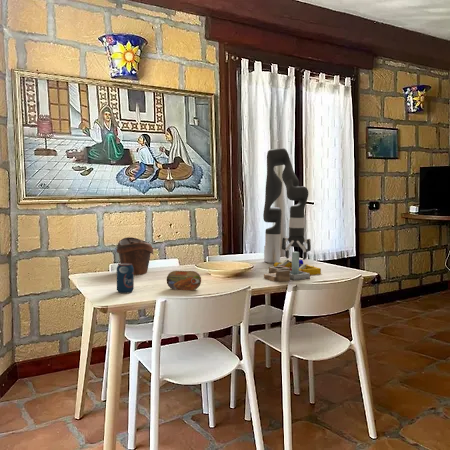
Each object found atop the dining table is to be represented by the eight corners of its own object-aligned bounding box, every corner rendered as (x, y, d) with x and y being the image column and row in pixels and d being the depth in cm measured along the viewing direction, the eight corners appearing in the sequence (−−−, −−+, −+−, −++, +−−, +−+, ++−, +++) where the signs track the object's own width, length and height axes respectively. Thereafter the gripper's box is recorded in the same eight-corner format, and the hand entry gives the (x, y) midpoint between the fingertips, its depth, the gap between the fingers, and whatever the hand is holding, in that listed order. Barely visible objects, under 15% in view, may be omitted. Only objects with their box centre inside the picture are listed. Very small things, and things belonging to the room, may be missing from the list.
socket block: (268, 272, 241) (268, 267, 240) (280, 271, 245) (280, 266, 244) (277, 275, 234) (278, 269, 234) (290, 273, 238) (290, 268, 238)
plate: (263, 279, 226) (263, 274, 225) (276, 277, 230) (276, 272, 230) (274, 282, 219) (274, 276, 219) (286, 280, 223) (286, 275, 223)
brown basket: (143, 276, 225) (144, 240, 224) (108, 274, 231) (108, 239, 230) (160, 271, 241) (160, 237, 240) (127, 269, 248) (127, 236, 247)
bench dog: (275, 280, 219) (276, 270, 218) (285, 279, 222) (285, 269, 222) (279, 282, 216) (279, 271, 216) (289, 280, 219) (289, 270, 219)
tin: (166, 289, 198) (166, 270, 197) (168, 288, 201) (168, 269, 200) (200, 291, 195) (200, 271, 195) (201, 289, 198) (201, 270, 198)
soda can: (127, 294, 187) (127, 265, 186) (113, 292, 190) (113, 264, 189) (136, 291, 194) (136, 263, 193) (123, 289, 196) (122, 262, 195)
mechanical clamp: (304, 265, 229) (272, 257, 256) (303, 278, 230) (272, 268, 257) (333, 263, 237) (299, 256, 264) (332, 275, 238) (299, 266, 265)
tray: (281, 276, 230) (281, 271, 230) (296, 275, 235) (296, 270, 235) (293, 280, 221) (293, 275, 221) (309, 278, 226) (309, 273, 226)
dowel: (290, 276, 227) (291, 252, 226) (292, 275, 230) (293, 251, 229) (297, 276, 226) (298, 252, 225) (299, 275, 229) (300, 252, 228)
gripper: (280, 226, 226) (279, 258, 227) (309, 227, 220) (308, 261, 221) (285, 225, 232) (284, 256, 234) (312, 226, 227) (311, 258, 228)
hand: (295, 258), depth 228 cm, fingers open, 8 cm apart
